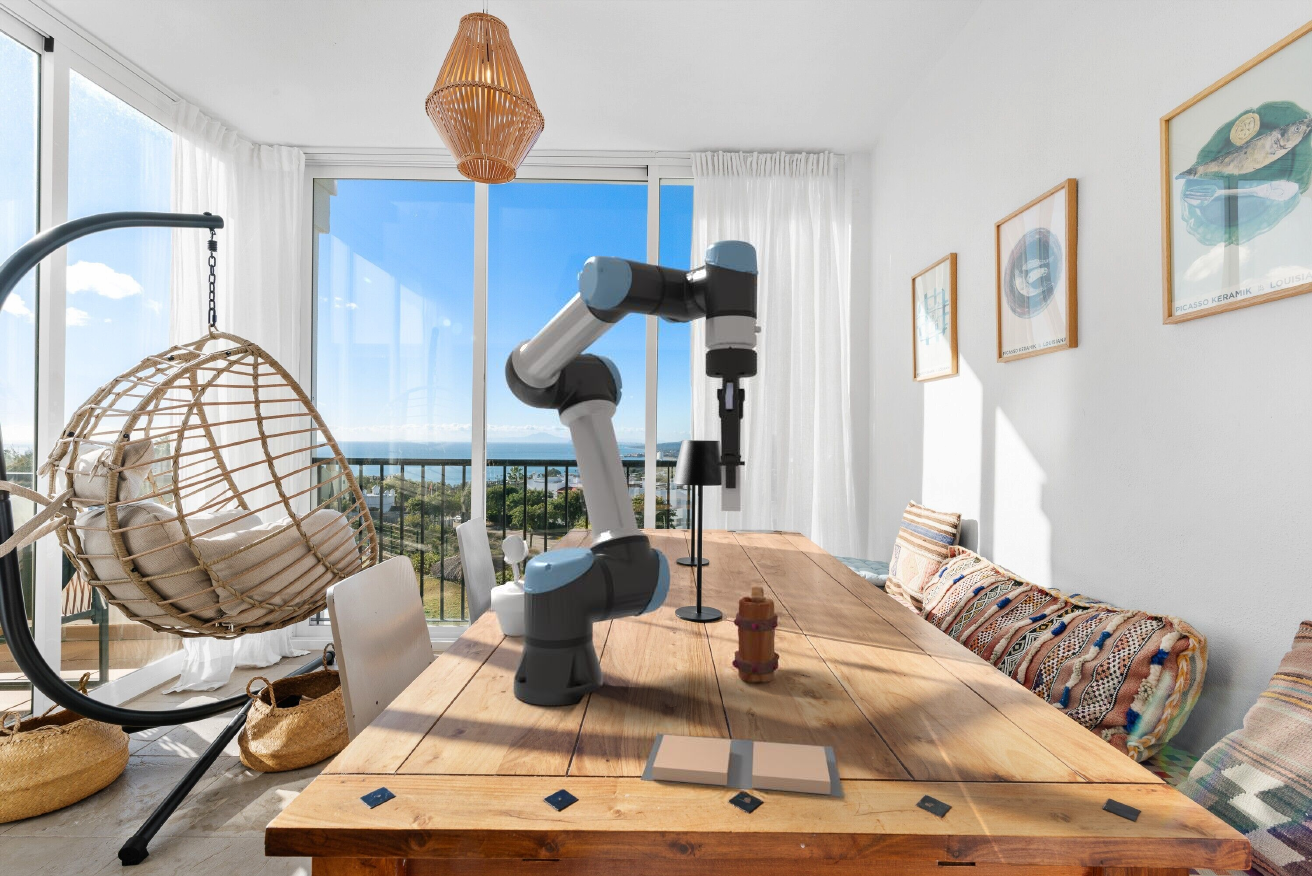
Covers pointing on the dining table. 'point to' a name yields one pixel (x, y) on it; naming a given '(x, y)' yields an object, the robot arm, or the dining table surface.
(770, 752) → the tile right
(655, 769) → the tile left
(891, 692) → the dining table surface
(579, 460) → the robot arm
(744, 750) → the slate board
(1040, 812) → the dining table surface
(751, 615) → the mug
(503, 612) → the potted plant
